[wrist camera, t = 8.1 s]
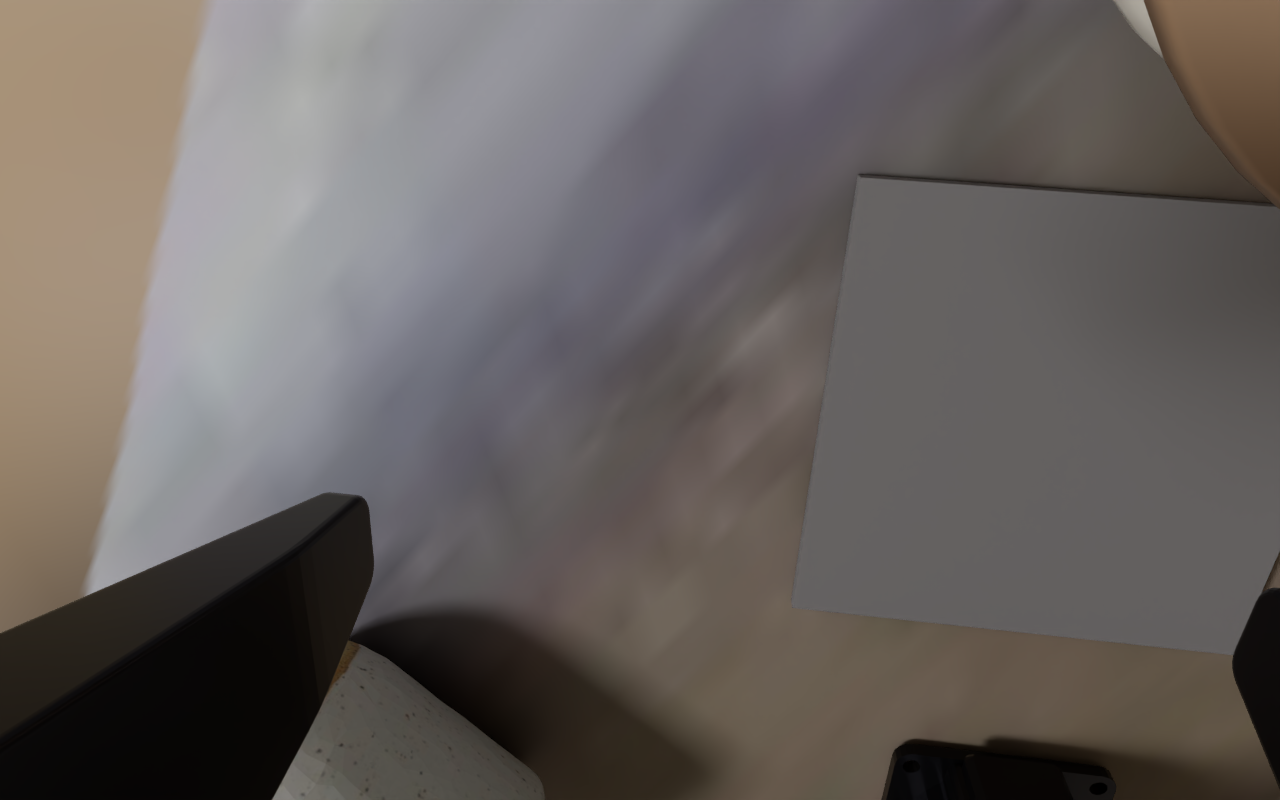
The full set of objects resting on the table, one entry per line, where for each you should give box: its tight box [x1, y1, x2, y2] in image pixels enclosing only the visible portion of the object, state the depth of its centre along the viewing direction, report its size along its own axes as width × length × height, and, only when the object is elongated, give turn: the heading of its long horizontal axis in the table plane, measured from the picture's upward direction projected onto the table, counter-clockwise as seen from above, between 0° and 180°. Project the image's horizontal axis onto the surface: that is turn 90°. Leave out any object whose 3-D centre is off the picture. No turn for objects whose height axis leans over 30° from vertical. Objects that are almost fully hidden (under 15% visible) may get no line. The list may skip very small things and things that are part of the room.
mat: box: [791, 174, 1280, 655], centre depth 21 cm, size 12×12×1 cm
